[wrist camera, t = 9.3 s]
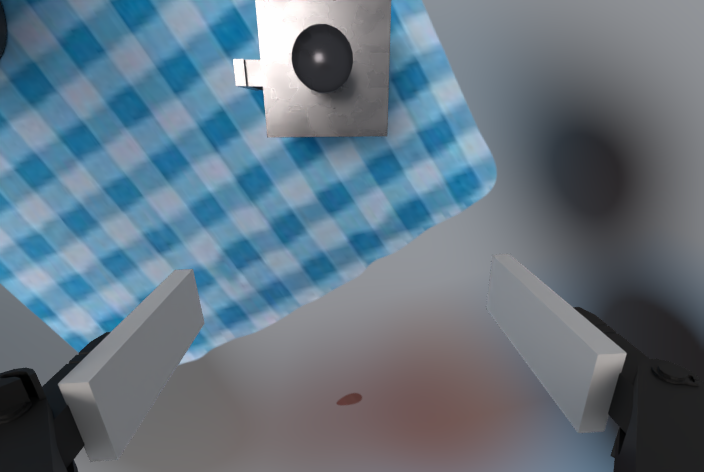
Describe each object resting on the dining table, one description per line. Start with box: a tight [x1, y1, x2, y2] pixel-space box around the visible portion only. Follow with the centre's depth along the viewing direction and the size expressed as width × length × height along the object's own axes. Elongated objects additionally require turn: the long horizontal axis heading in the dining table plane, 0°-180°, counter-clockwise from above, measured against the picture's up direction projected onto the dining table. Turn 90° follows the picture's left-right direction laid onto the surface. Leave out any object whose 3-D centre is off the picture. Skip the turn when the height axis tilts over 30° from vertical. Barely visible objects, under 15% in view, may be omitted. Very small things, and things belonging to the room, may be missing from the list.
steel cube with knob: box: [233, 0, 391, 137], centre depth 39 cm, size 15×12×14 cm
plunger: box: [292, 24, 353, 94], centre depth 34 cm, size 9×9×19 cm
